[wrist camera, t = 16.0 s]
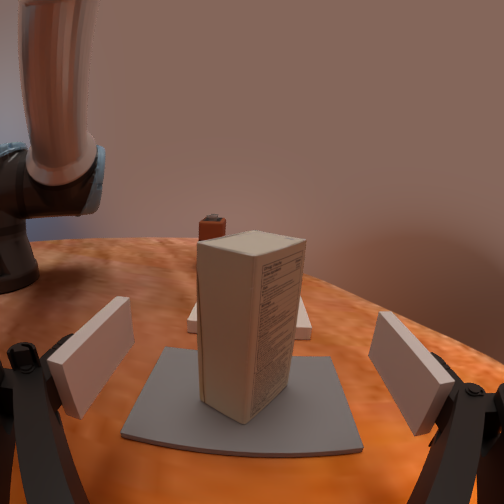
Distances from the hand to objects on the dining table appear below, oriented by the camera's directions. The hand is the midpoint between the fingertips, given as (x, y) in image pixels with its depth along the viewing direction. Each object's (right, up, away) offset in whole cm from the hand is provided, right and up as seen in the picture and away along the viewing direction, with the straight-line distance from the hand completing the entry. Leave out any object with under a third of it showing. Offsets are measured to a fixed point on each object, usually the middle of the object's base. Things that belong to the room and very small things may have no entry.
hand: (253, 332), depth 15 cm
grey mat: (-1, -7, +7) cm, 10 cm away
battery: (-8, +1, +43) cm, 44 cm away
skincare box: (-1, -7, +6) cm, 10 cm away
